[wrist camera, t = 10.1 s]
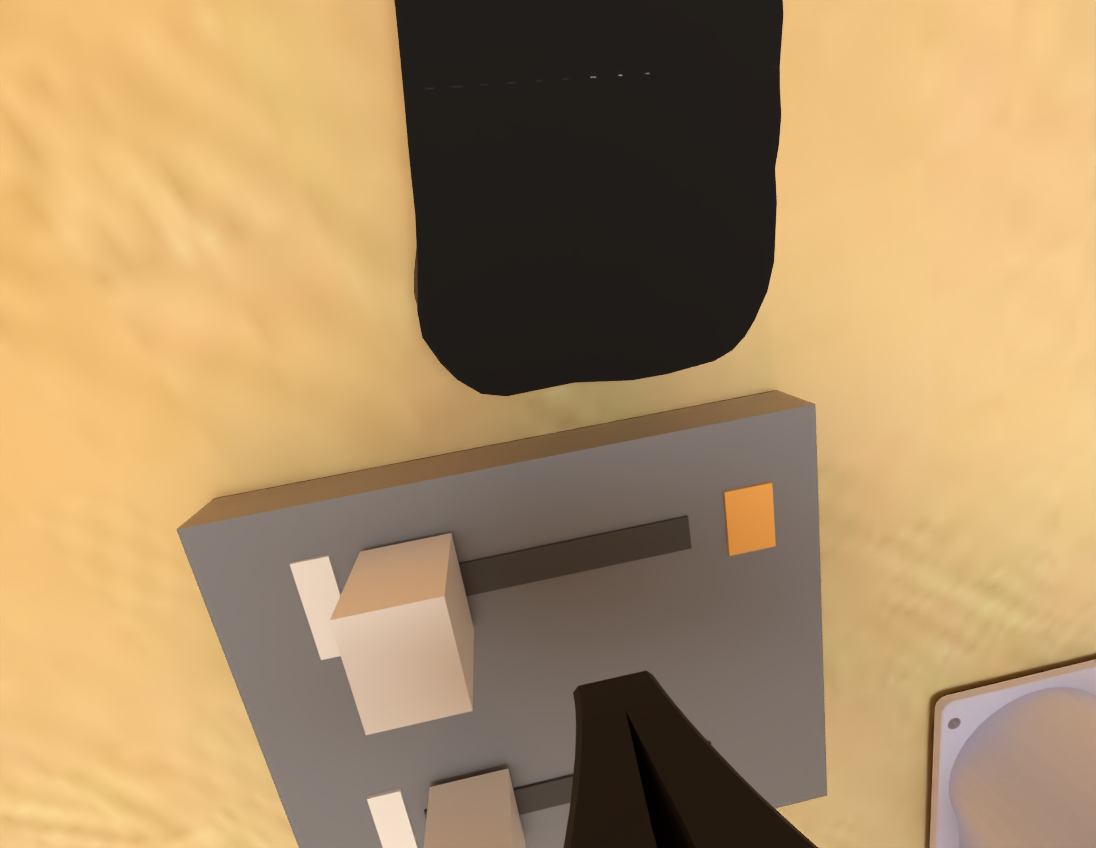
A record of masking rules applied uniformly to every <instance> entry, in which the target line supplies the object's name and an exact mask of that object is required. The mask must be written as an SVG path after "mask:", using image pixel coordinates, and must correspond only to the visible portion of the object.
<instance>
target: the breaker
mask: <svg viewBox="0 0 1096 848" xmlns="http://www.w3.org/2000/svg"><path fill="white" fill-rule="evenodd" d="M424 848H526V844H525V838H524V834H523V830H522V825H521V821H520V817H519V812H518V808H517V804H516V800H515V795H514V791H513V787H512V782H511V778H510V774H509V769H504V770H500V771H495V772H491V773H487V774H483V775H479V776H474V777H470V778H466V779H462V780H458V781H453V782H449V783H445V784H441V785H437V786H432V787H430V788H429V798H428V808H427V818H426V828H425V838H424Z"/></svg>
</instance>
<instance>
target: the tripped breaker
mask: <svg viewBox="0 0 1096 848" xmlns="http://www.w3.org/2000/svg"><path fill="white" fill-rule="evenodd" d="M330 624H331V627H332V630H333V633H334V636H335V639H336V643H337V646H338V649H339V652H340V655H341V658H342V662H343V665H344V668H345V671H346V674H347V677H348V681H349V684H350V687H351V690H352V693H353V696H354V699H355V703H356V706H357V709H358V712H359V715H360V718H361V722H362V725H363V728H364V731H365V734H366V735H370V734H374V733H378V732H383V731H387V730H391V729H396V728H400V727H405V726H409V725H413V724H418V723H422V722H426V721H431V720H435V719H440V718H444V717H448V716H453V715H457V714H461V713H466V712H470V711H473V658H474V627H473V623H472V619H471V614H470V610H469V606H468V601H467V597H466V593H465V589H464V584H463V580H462V576H461V571H460V567H459V563H458V559H457V554H456V550H455V546H454V542H453V537H452V533H449V534H444V535H439V536H434V537H429V538H424V539H419V540H414V541H409V542H404V543H400V544H395V545H390V546H385V547H380V548H375V549H370V550H365V551H360V553H359V555H358V557H357V560H356V562H355V564H354V566H353V569H352V571H351V573H350V575H349V578H348V580H347V582H346V584H345V587H344V589H343V591H342V593H341V596H340V598H339V600H338V602H337V605H336V607H335V609H334V612H333V614H332V616H331V618H330Z"/></svg>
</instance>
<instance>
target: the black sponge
mask: <svg viewBox="0 0 1096 848" xmlns="http://www.w3.org/2000/svg"><path fill="white" fill-rule="evenodd" d="M395 7H396V18H397V28H398V38H399V48H400V59H401V69H402V80H403V91H404V101H405V113H406V124H407V136H408V147H409V157H410V167H411V177H412V186H413V196H414V205H415V215H416V239H417V250H416V260H415V270H414V294H415V299H416V303H417V311H418V316H419V322H420V327H421V332H422V337H423V339H424V340H425V342H426V343H427V344H428V346H429V347H430V349H431V350H432V351H433V353H434V354H435V356H436V357H437V358H438V360H439V361H440V363H441V364H442V365H443V366H444V367H445V368H446V369H447V370H448V371H449V372H450V373H451V374H452V375H453V376H454V377H455V378H456V379H457V380H459V381H461V382H462V383H464V384H466V385H467V386H469V387H471V388H473V389H474V390H476V391H478V392H479V393H481V394H490V395H500V396H510V395H515V394H520V393H525V392H529V391H534V390H539V389H544V388H549V387H554V386H559V385H564V384H568V383H573V382H597V381H622V380H635V379H641V378H647V377H652V376H658V375H663V374H668V373H672V372H676V371H679V370H683V369H686V368H690V367H694V366H697V365H701V364H705V363H708V362H712V361H715V360H717V359H718V358H720V357H722V356H723V355H725V354H727V353H728V352H730V351H732V350H733V349H734V348H735V346H736V345H737V344H738V343H739V342H740V341H741V340H742V339H743V338H744V337H745V335H746V333H747V332H748V330H749V328H750V327H751V325H752V323H753V321H754V320H755V318H756V315H757V313H758V311H759V309H760V306H761V304H762V302H763V300H764V297H765V295H766V293H767V290H768V286H769V281H770V277H771V272H772V268H773V263H774V250H775V228H776V206H777V201H776V180H775V164H776V158H777V152H778V146H779V135H780V122H781V103H780V53H781V39H782V24H783V1H782V0H395Z"/></svg>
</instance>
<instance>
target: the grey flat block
mask: <svg viewBox="0 0 1096 848" xmlns="http://www.w3.org/2000/svg"><path fill="white" fill-rule="evenodd" d="M177 532H178V535H179V537H180V540H181V542H182V545H183V548H184V550H185V553H186V555H187V558H188V561H189V563H190V566H191V568H192V571H193V573H194V576H195V579H196V581H197V584H198V586H199V589H200V592H201V594H202V597H203V599H204V602H205V605H206V607H207V610H208V612H209V615H210V618H211V620H212V623H213V625H214V628H215V631H216V633H217V636H218V638H219V641H220V644H221V646H222V649H223V651H224V654H225V657H226V659H227V662H228V664H229V667H230V670H231V672H232V675H233V677H234V680H235V683H236V685H237V688H238V690H239V693H240V696H241V698H242V701H243V703H244V706H245V709H246V711H247V714H248V716H249V719H250V722H251V724H252V727H253V729H254V732H255V734H256V737H257V740H258V742H259V745H260V747H261V750H262V753H263V755H264V758H265V760H266V763H267V766H268V768H269V771H270V773H271V776H272V779H273V781H274V784H275V786H276V789H277V792H278V794H279V797H280V799H281V802H282V805H283V807H284V810H285V812H286V815H287V818H288V820H289V823H290V825H291V828H292V831H293V833H294V836H295V838H296V841H297V844H298V846H299V848H424V838H425V828H426V818H427V808H428V798H429V788H430V787H432V786H437V785H441V784H445V783H449V782H453V781H458V780H462V779H466V778H470V777H474V776H479V775H483V774H487V773H491V772H495V771H500V770H504V769H509V774H510V778H511V782H512V787H513V791H514V795H515V800H516V804H517V808H518V812H519V817H520V821H521V825H522V830H523V834H524V838H525V844H526V848H564V841H565V835H566V829H567V823H568V816H569V810H570V802H571V792H572V782H573V772H574V762H575V744H576V713H575V702H574V696H573V692H574V691H575V689H576V688H577V687H578V686H579V685H584V684H588V683H593V682H597V681H602V680H606V679H610V678H615V677H619V676H624V675H628V674H633V673H637V672H642V671H648V672H649V673H651V674H653V675H654V677H655V678H656V680H657V681H658V682H659V684H660V685H661V686H662V688H663V689H664V690H665V692H666V693H667V694H668V695H669V697H670V698H671V699H672V701H673V702H674V703H675V704H676V705H677V707H678V708H679V709H680V710H681V711H682V713H683V714H684V715H685V716H686V717H687V718H688V719H689V721H690V722H691V723H692V724H693V725H694V726H695V728H696V729H697V730H698V731H699V732H700V733H701V734H702V735H703V736H704V738H705V739H706V740H707V741H708V742H709V743H710V744H711V745H712V746H713V747H714V748H715V749H716V750H717V751H718V752H719V754H720V755H721V756H722V757H723V758H724V759H725V760H726V761H727V762H728V763H729V764H730V765H731V766H732V767H733V768H734V769H735V770H736V771H737V772H738V773H739V774H740V775H741V776H742V777H743V778H744V779H745V780H746V781H747V782H748V783H749V784H750V785H751V786H752V787H753V788H754V789H755V790H756V791H757V792H758V793H759V794H760V795H761V796H762V797H763V798H764V799H765V800H766V801H767V802H768V803H769V804H770V805H772V806H773V807H774V808H779V807H782V806H786V805H790V804H794V803H798V802H802V801H806V800H810V799H814V798H818V797H822V796H826V795H827V779H826V746H825V713H824V679H823V646H822V613H821V579H820V546H819V513H818V479H817V446H816V413H815V404H813V403H810V402H807V401H805V400H802V399H799V398H796V397H794V396H791V395H788V394H786V393H783V392H780V391H777V390H776V391H771V392H766V393H761V394H755V395H750V396H745V397H740V398H735V399H729V400H724V401H719V402H714V403H709V404H703V405H698V406H693V407H688V408H683V409H677V410H672V411H667V412H662V413H657V414H652V415H646V416H641V417H636V418H631V419H626V420H620V421H615V422H610V423H605V424H600V425H594V426H589V427H584V428H579V429H574V430H568V431H563V432H558V433H553V434H548V435H543V436H537V437H532V438H527V439H522V440H517V441H511V442H506V443H501V444H496V445H491V446H485V447H480V448H475V449H470V450H465V451H459V452H454V453H449V454H444V455H439V456H434V457H428V458H423V459H418V460H413V461H408V462H402V463H397V464H392V465H387V466H382V467H376V468H371V469H366V470H361V471H356V472H350V473H345V474H340V475H335V476H330V477H325V478H319V479H314V480H309V481H304V482H299V483H293V484H288V485H283V486H278V487H273V488H267V489H262V490H257V491H252V492H247V493H241V494H236V495H231V496H226V497H221V498H216V499H213V500H212V501H211V502H209V503H208V504H207V505H206V506H205V507H203V508H202V509H201V510H200V511H198V512H197V513H196V514H195V515H194V516H192V517H191V518H190V519H189V520H187V521H186V522H185V523H184V524H183V525H181V526H180V527H179V528H178V529H177ZM449 533H452V537H453V542H454V546H455V550H456V554H457V559H458V563H459V567H460V571H461V576H462V580H463V584H464V589H465V593H466V597H467V601H468V606H469V610H470V614H471V619H472V623H473V627H474V658H473V711H470V712H466V713H461V714H457V715H453V716H448V717H444V718H440V719H435V720H431V721H426V722H422V723H418V724H413V725H409V726H405V727H400V728H396V729H391V730H387V731H383V732H378V733H374V734H370V735H366V734H365V731H364V728H363V725H362V722H361V718H360V715H359V712H358V709H357V706H356V703H355V699H354V696H353V693H352V690H351V687H350V684H349V681H348V677H347V674H346V671H345V668H344V665H343V662H342V658H341V655H340V652H339V649H338V646H337V643H336V639H335V636H334V633H333V630H332V627H331V624H330V618H331V616H332V614H333V612H334V609H335V607H336V605H337V602H338V600H339V598H340V596H341V593H342V591H343V589H344V587H345V584H346V582H347V580H348V578H349V575H350V573H351V571H352V569H353V566H354V564H355V562H356V560H357V557H358V555H359V553H360V551H365V550H370V549H375V548H380V547H385V546H390V545H395V544H400V543H404V542H409V541H414V540H419V539H424V538H429V537H434V536H439V535H444V534H449Z"/></svg>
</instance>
